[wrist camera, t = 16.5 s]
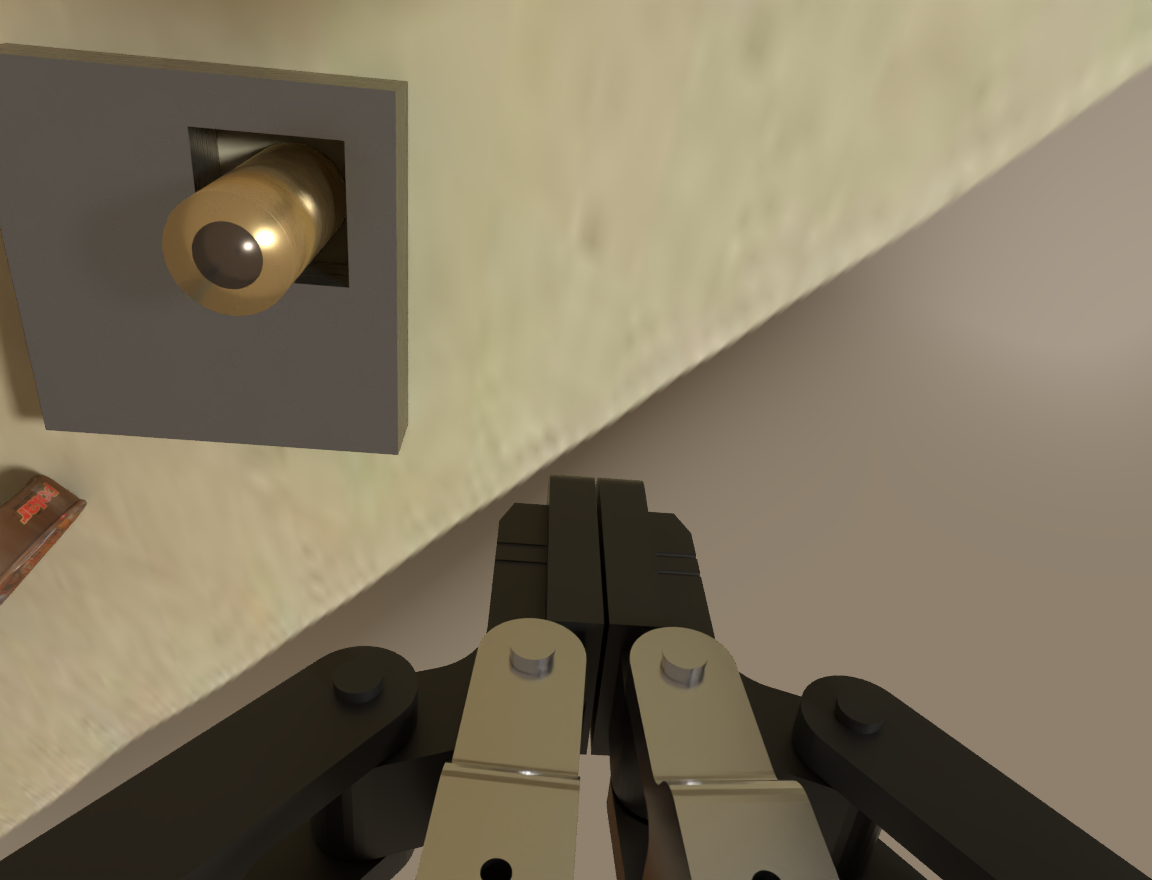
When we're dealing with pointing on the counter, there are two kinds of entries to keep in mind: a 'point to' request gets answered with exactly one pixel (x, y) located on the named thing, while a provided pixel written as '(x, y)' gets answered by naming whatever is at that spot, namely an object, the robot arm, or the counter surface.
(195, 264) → the golden brown cylinder
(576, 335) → the counter surface
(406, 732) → the robot arm
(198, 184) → the jig
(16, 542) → the tin
